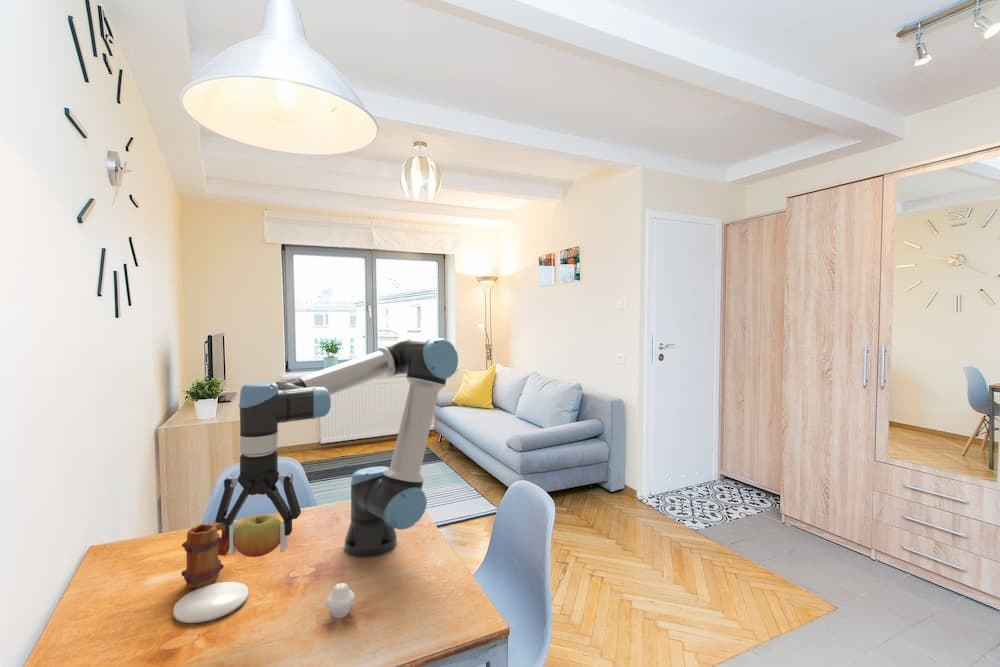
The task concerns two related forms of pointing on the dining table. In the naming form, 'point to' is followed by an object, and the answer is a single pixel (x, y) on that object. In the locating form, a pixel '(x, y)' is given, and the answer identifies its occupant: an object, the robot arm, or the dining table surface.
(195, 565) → the mug
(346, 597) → the white rounded piece
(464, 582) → the dining table surface
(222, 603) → the plate
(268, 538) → the apple
